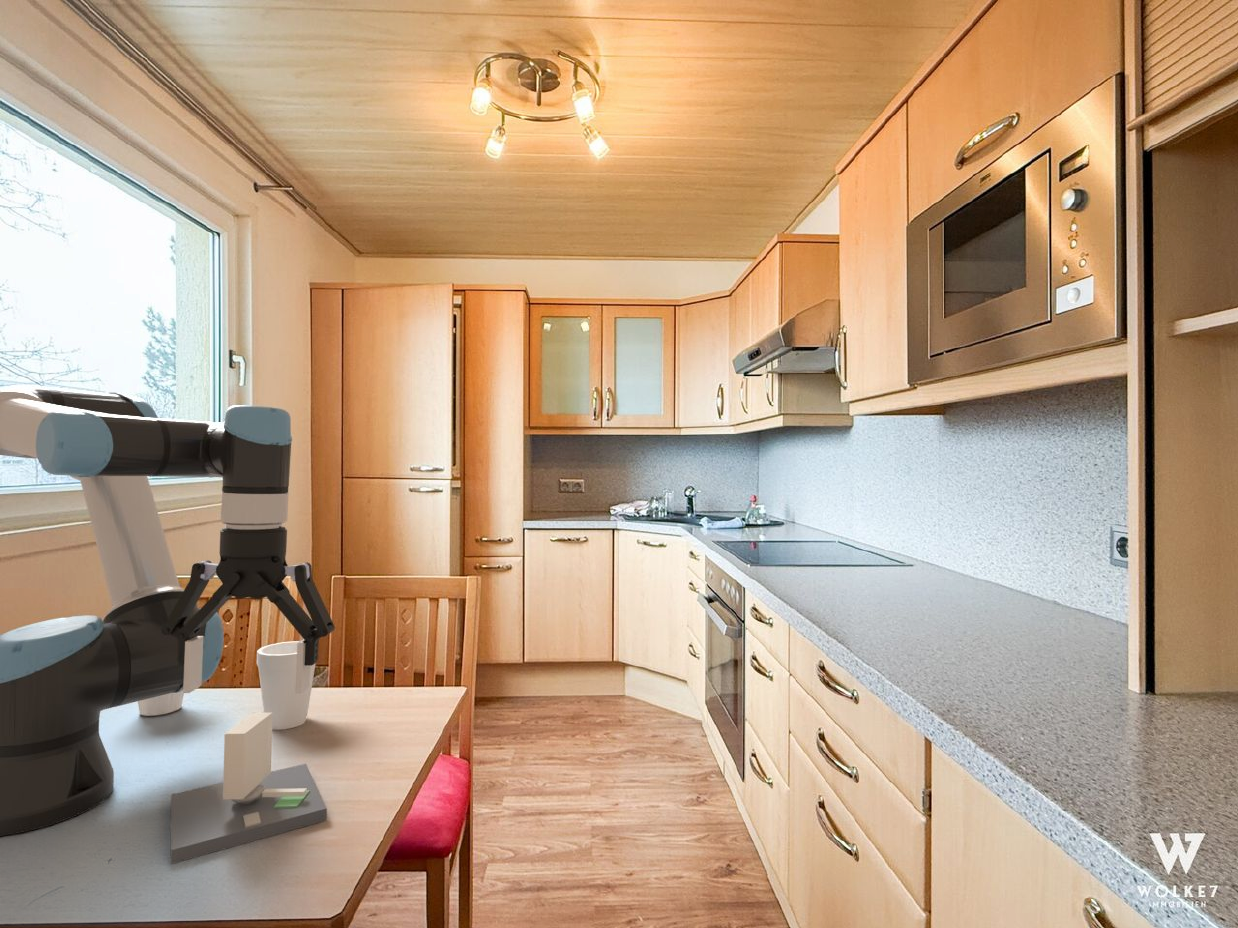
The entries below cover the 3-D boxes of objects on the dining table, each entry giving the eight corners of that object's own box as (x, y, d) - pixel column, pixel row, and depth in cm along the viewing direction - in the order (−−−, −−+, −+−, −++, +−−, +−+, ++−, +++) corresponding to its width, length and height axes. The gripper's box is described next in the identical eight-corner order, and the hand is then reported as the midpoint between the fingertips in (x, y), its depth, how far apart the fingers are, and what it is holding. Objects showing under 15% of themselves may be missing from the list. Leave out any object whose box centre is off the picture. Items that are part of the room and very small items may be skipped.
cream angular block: (292, 814, 78) (294, 732, 78) (217, 815, 77) (219, 733, 78) (316, 786, 85) (318, 712, 85) (247, 787, 84) (249, 712, 85)
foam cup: (290, 735, 105) (292, 657, 105) (242, 730, 107) (244, 653, 107) (327, 714, 114) (328, 642, 115) (282, 710, 116) (284, 639, 117)
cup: (168, 722, 110) (170, 646, 110) (111, 721, 110) (113, 646, 110) (206, 702, 120) (208, 633, 120) (154, 701, 120) (156, 632, 120)
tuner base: (170, 863, 70) (171, 848, 70) (170, 805, 83) (171, 792, 83) (326, 820, 80) (326, 806, 80) (305, 773, 92) (306, 762, 92)
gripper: (362, 525, 87) (356, 680, 87) (170, 520, 84) (163, 679, 84) (344, 531, 79) (337, 700, 79) (132, 525, 77) (125, 699, 77)
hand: (247, 689), depth 82 cm, fingers open, 13 cm apart
